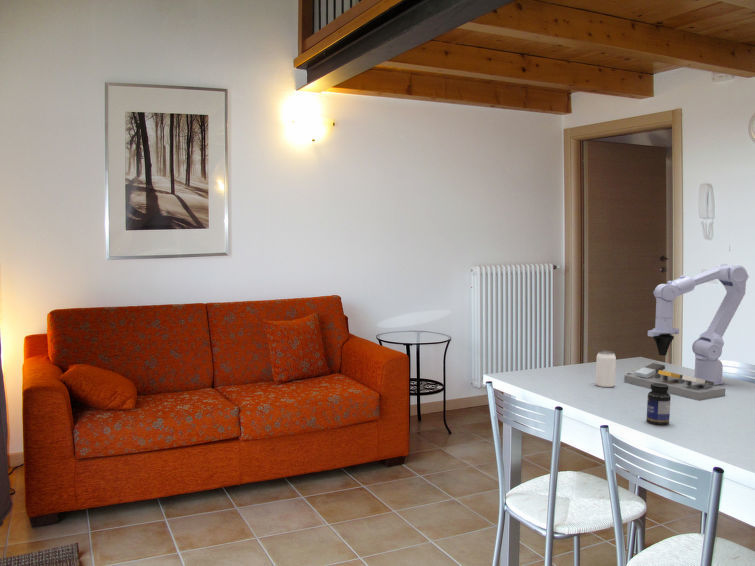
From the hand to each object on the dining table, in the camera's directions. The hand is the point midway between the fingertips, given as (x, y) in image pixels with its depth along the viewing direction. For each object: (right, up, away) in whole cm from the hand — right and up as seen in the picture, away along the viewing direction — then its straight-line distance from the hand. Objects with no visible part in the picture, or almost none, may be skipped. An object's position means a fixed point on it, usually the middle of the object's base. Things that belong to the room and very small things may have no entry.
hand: (662, 355), depth 247 cm
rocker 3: (+6, -8, -15) cm, 18 cm away
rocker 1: (-4, -7, +1) cm, 8 cm away
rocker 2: (+1, -7, -7) cm, 10 cm away
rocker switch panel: (0, -11, -5) cm, 12 cm away
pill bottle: (-22, -14, -50) cm, 56 cm away
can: (-22, -11, -4) cm, 25 cm away
